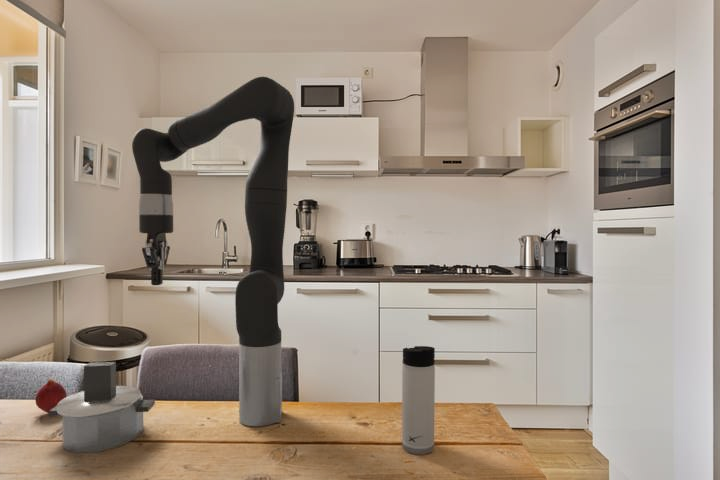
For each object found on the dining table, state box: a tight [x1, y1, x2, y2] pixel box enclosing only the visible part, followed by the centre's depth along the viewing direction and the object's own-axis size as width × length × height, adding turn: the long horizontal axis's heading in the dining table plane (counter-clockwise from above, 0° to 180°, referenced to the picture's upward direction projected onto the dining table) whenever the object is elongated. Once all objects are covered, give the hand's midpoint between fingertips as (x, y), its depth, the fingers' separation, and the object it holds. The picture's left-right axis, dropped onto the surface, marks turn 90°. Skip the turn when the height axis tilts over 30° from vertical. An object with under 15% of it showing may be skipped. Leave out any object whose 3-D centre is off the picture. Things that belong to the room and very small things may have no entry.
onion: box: [35, 378, 68, 414], centre depth 102 cm, size 6×6×8 cm
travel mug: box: [401, 345, 436, 456], centre depth 87 cm, size 6×7×20 cm
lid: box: [57, 361, 142, 418], centre depth 89 cm, size 15×15×8 cm
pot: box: [49, 393, 156, 454], centre depth 91 cm, size 19×14×7 cm
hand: (157, 284), depth 108 cm, fingers closed
